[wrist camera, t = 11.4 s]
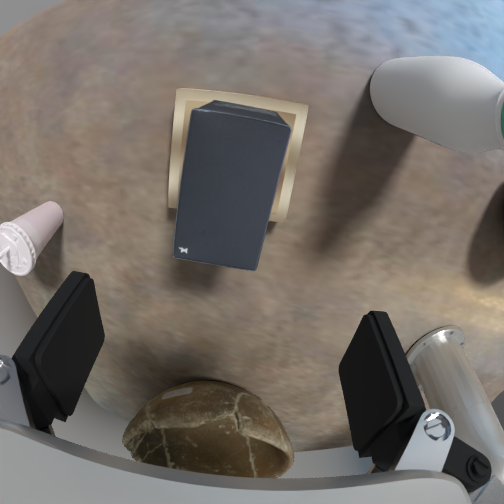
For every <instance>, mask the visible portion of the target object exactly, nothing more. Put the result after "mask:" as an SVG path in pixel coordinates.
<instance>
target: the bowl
mask: <svg viewBox="0 0 504 504" xmlns="http://www.w3.org/2000/svg"><path fill="white" fill-rule="evenodd" d="M122 442H123V444H124V446H125V447H126V448H127V449H128V450H129V451H131V455H132V458H134V459H135V460H136V461H140V462H142V463H146V464H151V465H156V466H161V467H166V468H171V469H177V470H183V471H190V472H197V473H204V474H212V475H222V476H233V477H247V478H272V479H276V478H278V477H280V476H282V475H283V474H284V473H285V472H286V471H287V470H288V469H289V468H290V467H291V466H292V464H293V462H294V450H293V447H292V444H291V442H290V439H289V437H288V435H287V433H286V431H285V429H284V427H283V425H282V423H281V422H280V420H279V418H278V417H277V416H276V414H275V413H274V412H273V411H272V410H271V409H270V407H269V406H267V405H266V404H265V403H264V402H263V401H262V400H261V399H260V398H259V397H257V396H256V395H254V394H252V393H250V392H248V391H246V390H244V389H242V388H240V387H237V386H234V385H231V384H227V383H224V382H215V381H193V382H189V383H184V384H181V385H177V386H174V387H172V388H169V389H167V390H165V391H164V392H162V393H160V394H159V395H157V396H156V397H154V398H152V399H151V400H149V401H148V404H147V405H146V406H144V407H143V408H142V409H141V410H140V411H139V412H138V414H137V415H136V416H135V417H134V418H133V420H132V421H131V422H130V423H129V425H128V426H127V428H126V430H125V432H124V435H123V439H122Z"/></svg>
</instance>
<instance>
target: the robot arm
mask: <svg viewBox="0 0 504 504" xmlns="http://www.w3.org/2000/svg"><path fill="white" fill-rule="evenodd" d="M104 337H105V334H104V329H103V325H102V320H101V316H100V311H99V306H98V301H97V296H96V291H95V285H94V281H93V279H91V278H90V276H89V274H87V273H82V272H77V271H72V272H71V273H70V275H69V276H68V277H67V278H66V280H65V281H64V282H63V284H62V285H61V286H60V288H59V289H58V290H57V292H56V293H55V294H54V296H53V297H52V299H51V300H50V301H49V303H48V304H47V305H46V307H45V308H44V310H43V311H42V313H41V314H40V315H39V317H38V318H37V320H36V321H35V323H34V324H33V326H32V327H31V329H30V330H29V332H28V333H27V335H26V336H25V338H24V339H23V341H22V342H21V344H20V346H19V347H18V349H17V350H16V352H15V354H14V355H13V357H12V359H11V358H10V357H8V356H6V355H0V504H504V431H503V429H502V427H501V425H500V423H499V421H498V419H497V416H496V414H495V412H494V410H493V408H492V406H491V404H490V401H489V399H488V397H487V395H486V393H485V391H484V389H483V387H482V385H481V383H480V381H479V379H478V377H477V375H476V373H475V371H474V369H473V367H472V365H471V363H470V361H469V360H468V358H467V356H466V354H465V352H464V350H463V347H464V344H465V335H464V333H463V332H462V330H461V329H460V328H458V327H455V326H447V327H442V328H439V329H437V330H434V331H432V332H430V333H428V334H427V335H425V336H424V337H422V338H421V339H420V340H419V341H417V342H416V343H415V344H414V345H413V346H412V348H411V349H410V350H409V352H408V353H407V355H405V353H404V350H403V348H402V346H401V343H400V341H399V339H398V336H397V334H396V332H395V330H394V327H393V325H392V323H391V321H390V318H389V316H388V314H387V313H386V312H382V311H370V312H369V313H368V314H366V315H364V316H363V318H362V320H361V322H360V324H359V326H358V328H357V330H356V332H355V335H354V337H353V339H352V341H351V343H350V345H349V347H348V349H347V351H346V353H345V354H344V356H343V358H342V360H341V362H340V364H339V376H340V381H341V385H342V390H343V395H344V400H345V405H346V410H347V415H348V420H349V425H350V430H351V436H352V441H353V446H354V449H355V450H356V451H358V453H359V458H362V457H371V456H372V461H373V464H372V466H371V467H370V469H369V471H368V472H367V474H363V475H352V476H339V477H325V478H302V479H272V478H247V477H233V476H222V475H212V474H204V473H197V472H190V471H183V470H177V469H171V468H166V467H161V466H156V465H151V464H146V463H142V462H137V461H133V460H129V459H125V458H121V457H117V456H114V455H110V454H107V453H103V452H100V451H96V450H93V449H90V448H87V447H84V446H81V445H78V444H75V443H72V442H69V441H66V440H63V439H60V438H58V437H56V436H55V434H54V431H53V428H52V426H51V424H52V421H53V419H54V418H56V419H58V420H61V421H64V422H66V419H67V417H68V415H69V416H71V415H72V414H73V412H74V409H75V407H76V404H77V402H78V400H79V397H80V395H81V392H82V390H83V388H84V385H85V383H86V381H87V378H88V376H89V374H90V371H91V369H92V367H93V364H94V362H95V360H96V358H97V356H98V353H99V351H100V349H101V347H102V345H103V342H104ZM420 388H421V390H422V391H424V394H425V397H426V399H427V402H428V405H429V407H430V409H429V410H427V411H426V408H425V404H424V401H423V399H422V396H421V393H420V391H419V389H420Z"/></svg>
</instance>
